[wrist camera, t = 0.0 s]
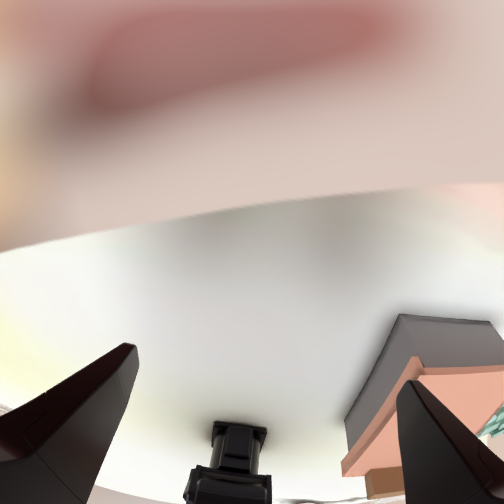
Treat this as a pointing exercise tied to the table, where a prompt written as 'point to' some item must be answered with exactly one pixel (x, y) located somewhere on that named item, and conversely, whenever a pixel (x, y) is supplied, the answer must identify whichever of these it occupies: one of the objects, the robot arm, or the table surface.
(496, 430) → the money
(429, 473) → the robot arm
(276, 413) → the table surface
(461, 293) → the table surface
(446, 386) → the lid
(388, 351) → the base
